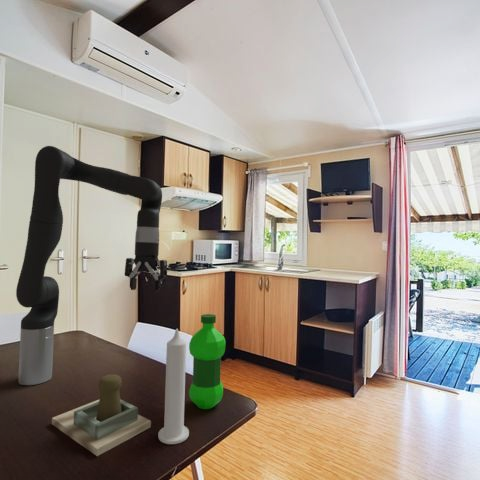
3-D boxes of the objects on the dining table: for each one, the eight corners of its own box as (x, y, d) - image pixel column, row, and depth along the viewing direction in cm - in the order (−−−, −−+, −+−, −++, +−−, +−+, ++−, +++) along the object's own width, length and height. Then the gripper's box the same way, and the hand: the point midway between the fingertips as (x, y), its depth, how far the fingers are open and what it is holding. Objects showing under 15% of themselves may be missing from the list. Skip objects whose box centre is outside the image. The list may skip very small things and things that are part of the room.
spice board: (51, 424, 79) (52, 405, 79) (104, 402, 91) (104, 386, 91) (97, 456, 68) (97, 434, 68) (150, 427, 79) (151, 408, 79)
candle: (160, 427, 79) (164, 324, 80) (189, 426, 80) (192, 325, 80) (155, 445, 72) (159, 332, 73) (187, 444, 73) (191, 332, 73)
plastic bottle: (217, 416, 85) (219, 321, 85) (180, 409, 88) (183, 317, 89) (229, 399, 94) (231, 313, 95) (196, 394, 97) (198, 311, 98)
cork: (112, 430, 74) (114, 382, 75) (89, 427, 76) (91, 379, 76) (126, 417, 80) (128, 372, 81) (105, 414, 82) (106, 370, 82)
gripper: (121, 240, 104) (118, 290, 104) (161, 241, 100) (158, 293, 100) (134, 241, 111) (132, 288, 111) (172, 242, 108) (170, 291, 107)
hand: (144, 290), depth 105 cm, fingers open, 8 cm apart
